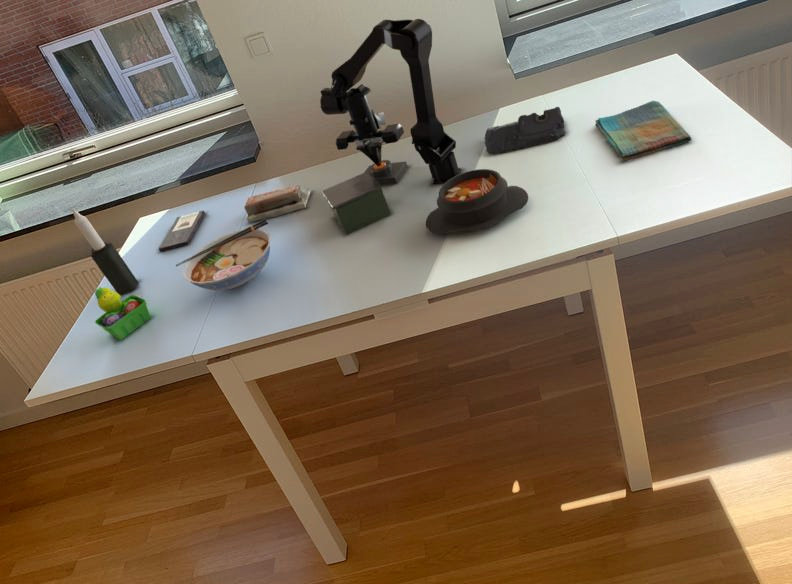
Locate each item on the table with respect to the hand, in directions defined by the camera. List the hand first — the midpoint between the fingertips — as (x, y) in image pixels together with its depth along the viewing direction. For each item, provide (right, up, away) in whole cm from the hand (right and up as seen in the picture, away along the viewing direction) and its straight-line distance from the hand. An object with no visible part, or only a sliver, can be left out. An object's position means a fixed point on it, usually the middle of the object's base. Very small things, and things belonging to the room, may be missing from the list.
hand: (379, 165), depth 196 cm
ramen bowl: (-33, -34, -19) cm, 51 cm away
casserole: (+26, -20, -29) cm, 44 cm away
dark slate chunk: (+40, +7, -3) cm, 41 cm away
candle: (-67, -35, -5) cm, 76 cm away
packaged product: (-29, -11, +6) cm, 32 cm away
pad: (+1, -3, +2) cm, 4 cm away
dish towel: (+67, +2, -21) cm, 71 cm away
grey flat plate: (-6, -11, -17) cm, 21 cm away
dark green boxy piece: (-3, -17, -12) cm, 21 cm away
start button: (0, -1, +1) cm, 2 cm away
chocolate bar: (-59, -16, +12) cm, 63 cm away
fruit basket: (-59, -46, -22) cm, 78 cm away
